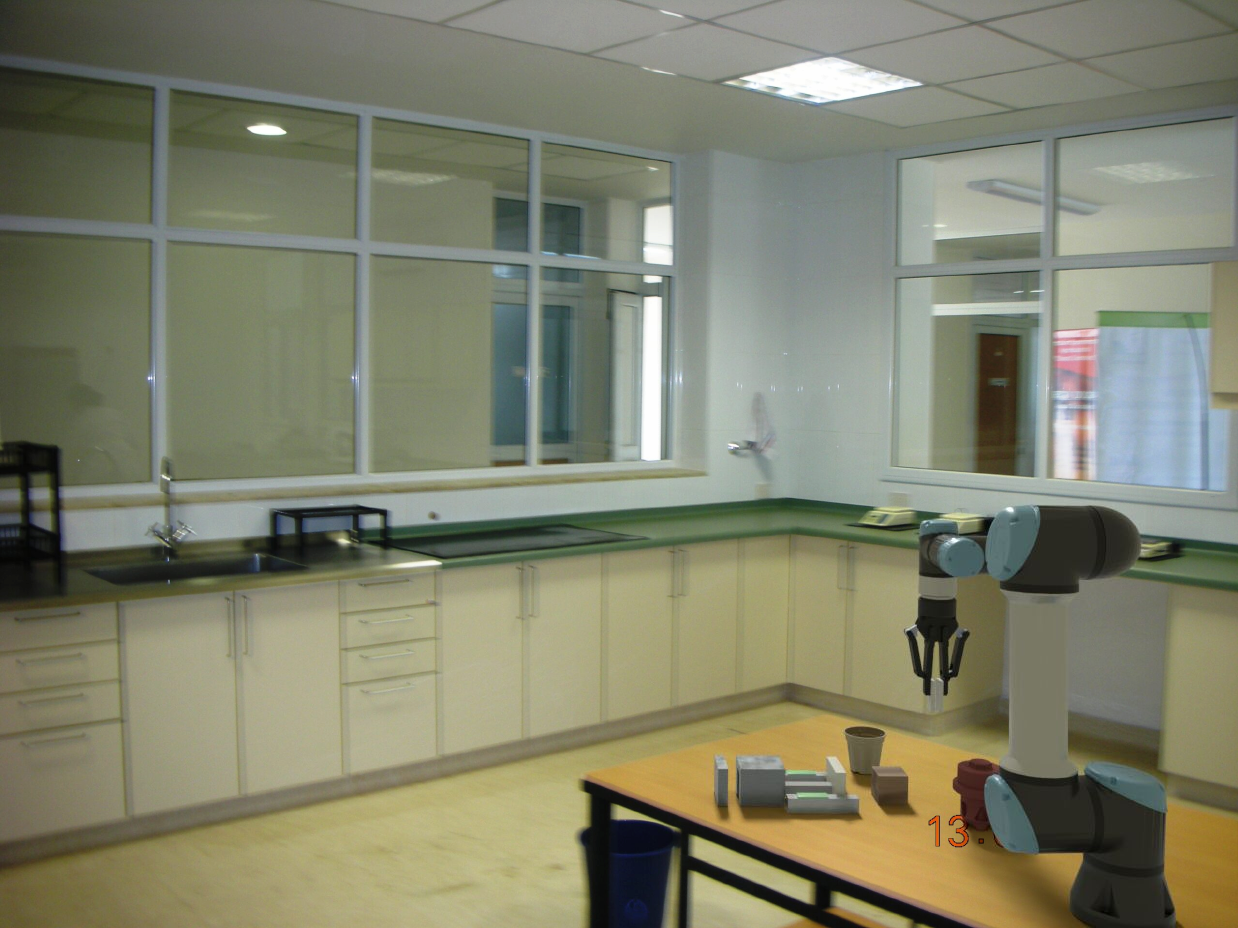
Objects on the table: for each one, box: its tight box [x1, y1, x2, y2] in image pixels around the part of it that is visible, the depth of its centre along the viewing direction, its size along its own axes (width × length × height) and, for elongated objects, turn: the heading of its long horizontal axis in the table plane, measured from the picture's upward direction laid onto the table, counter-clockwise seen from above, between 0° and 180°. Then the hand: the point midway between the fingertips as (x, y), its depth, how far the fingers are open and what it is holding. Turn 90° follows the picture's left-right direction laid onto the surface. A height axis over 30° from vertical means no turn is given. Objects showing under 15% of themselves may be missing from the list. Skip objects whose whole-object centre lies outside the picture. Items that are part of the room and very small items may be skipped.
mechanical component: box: [952, 757, 999, 832], centre depth 204 cm, size 12×10×10 cm
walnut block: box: [870, 765, 909, 806], centre depth 218 cm, size 6×6×6 cm
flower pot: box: [842, 725, 888, 775], centre depth 235 cm, size 9×9×9 cm
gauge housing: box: [713, 754, 860, 815], centre depth 218 cm, size 16×28×8 cm, turn 90°
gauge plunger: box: [785, 756, 847, 798], centre depth 218 cm, size 10×14×7 cm
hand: (935, 710), depth 217 cm, fingers closed
